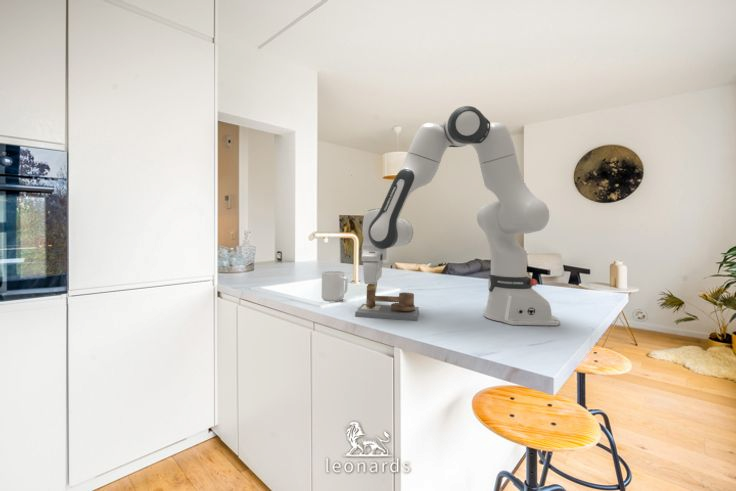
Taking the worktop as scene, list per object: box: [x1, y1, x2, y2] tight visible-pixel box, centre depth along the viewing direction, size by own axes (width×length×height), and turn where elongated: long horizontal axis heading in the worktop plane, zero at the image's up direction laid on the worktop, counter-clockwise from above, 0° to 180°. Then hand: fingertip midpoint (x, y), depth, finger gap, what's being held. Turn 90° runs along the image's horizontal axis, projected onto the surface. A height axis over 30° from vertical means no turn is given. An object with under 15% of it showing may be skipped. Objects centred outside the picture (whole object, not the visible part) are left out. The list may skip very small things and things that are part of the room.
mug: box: [321, 270, 349, 303], centre depth 137 cm, size 12×9×11 cm
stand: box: [354, 303, 420, 321], centre depth 117 cm, size 20×13×2 cm, turn 80°
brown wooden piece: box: [365, 284, 416, 312], centre depth 117 cm, size 16×8×8 cm, turn 85°
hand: (373, 293), depth 124 cm, fingers closed
